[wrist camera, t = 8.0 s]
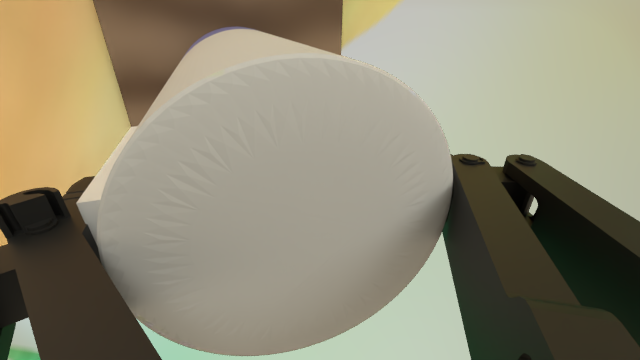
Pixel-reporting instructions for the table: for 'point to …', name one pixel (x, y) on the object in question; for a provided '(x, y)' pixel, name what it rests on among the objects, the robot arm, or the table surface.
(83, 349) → the robot arm
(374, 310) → the container
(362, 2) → the table surface
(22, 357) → the table surface
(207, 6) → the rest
